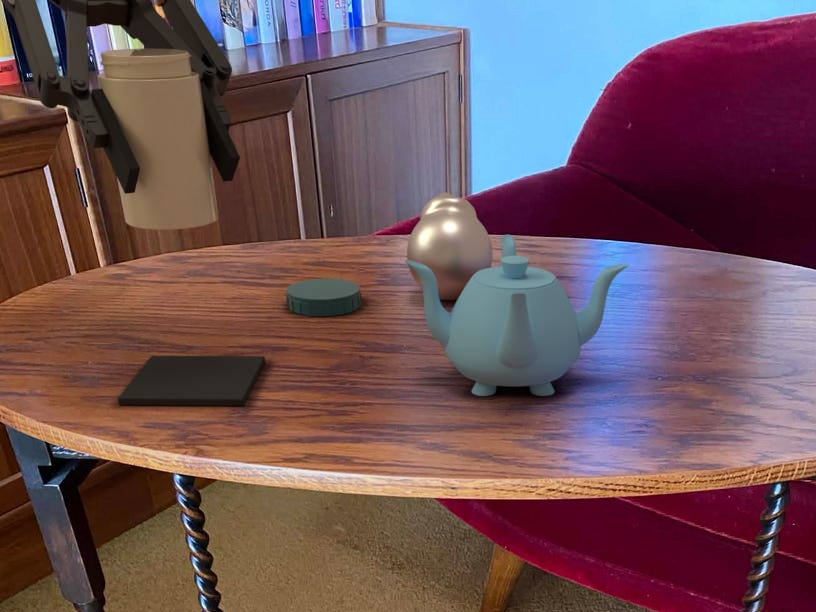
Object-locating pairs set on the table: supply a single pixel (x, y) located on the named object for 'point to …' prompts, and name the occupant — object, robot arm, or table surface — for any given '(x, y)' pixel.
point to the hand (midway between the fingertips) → (183, 175)
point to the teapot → (513, 323)
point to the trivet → (194, 381)
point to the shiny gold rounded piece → (449, 244)
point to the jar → (162, 137)
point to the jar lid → (323, 297)
